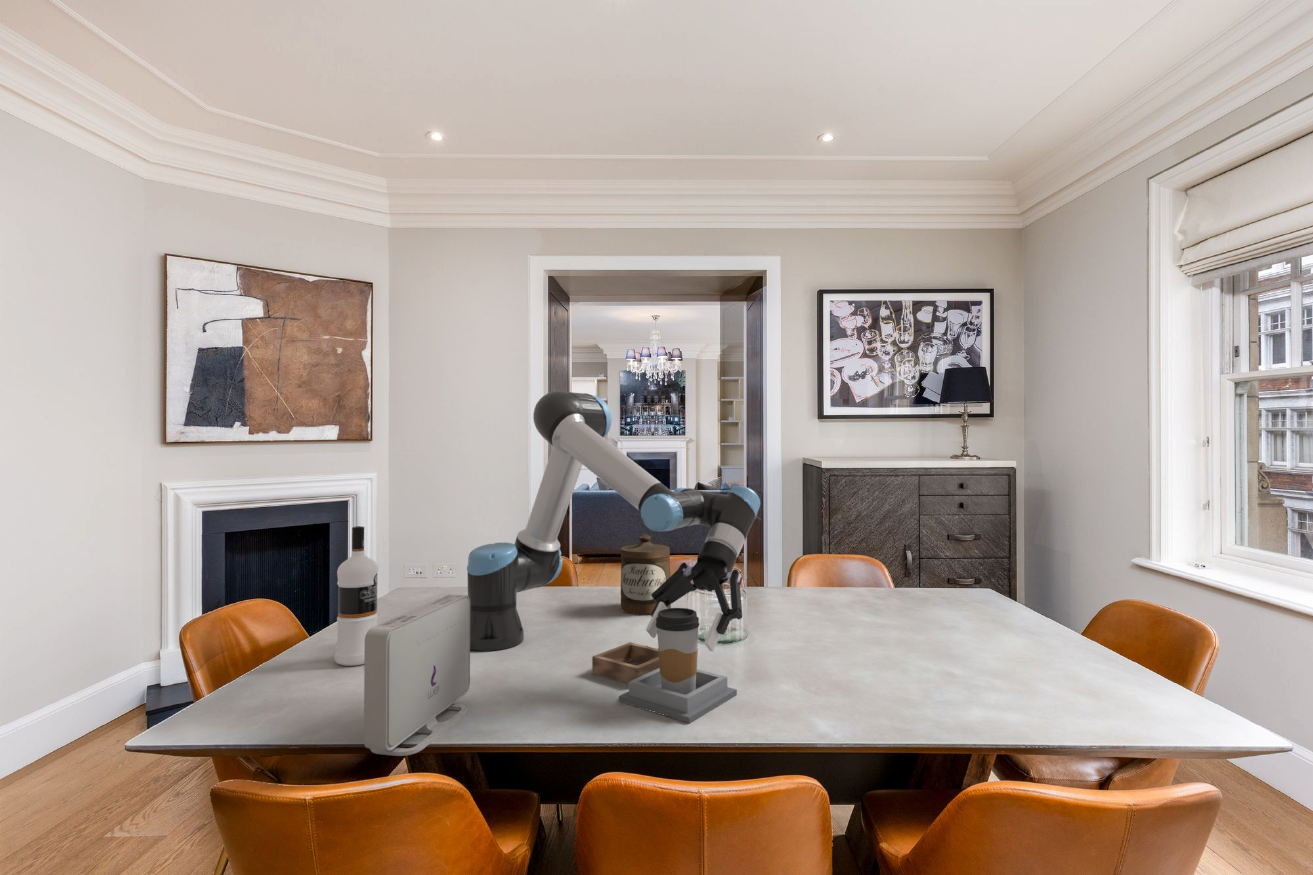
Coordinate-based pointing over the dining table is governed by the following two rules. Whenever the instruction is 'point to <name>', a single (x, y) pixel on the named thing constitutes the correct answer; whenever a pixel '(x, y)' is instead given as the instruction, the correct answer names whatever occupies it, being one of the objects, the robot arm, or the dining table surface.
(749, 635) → the dining table surface
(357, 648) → the vodka
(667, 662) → the coffee cup
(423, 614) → the network device
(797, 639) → the dining table surface
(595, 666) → the walnut holder
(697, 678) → the dock pad
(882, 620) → the dining table surface
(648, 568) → the wooden container
